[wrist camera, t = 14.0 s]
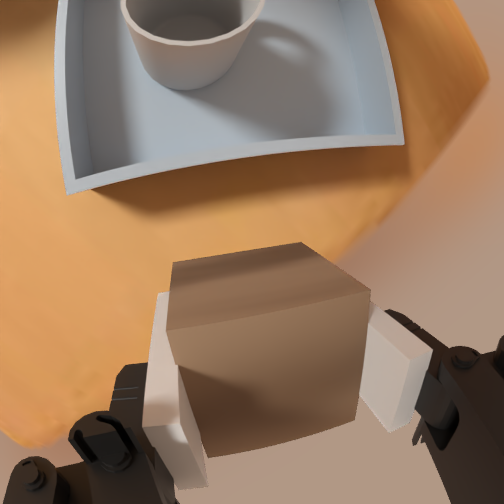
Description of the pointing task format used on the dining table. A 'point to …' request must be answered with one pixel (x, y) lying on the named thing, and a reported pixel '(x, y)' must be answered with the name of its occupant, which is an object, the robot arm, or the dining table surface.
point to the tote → (221, 92)
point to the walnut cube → (267, 345)
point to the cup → (189, 37)
